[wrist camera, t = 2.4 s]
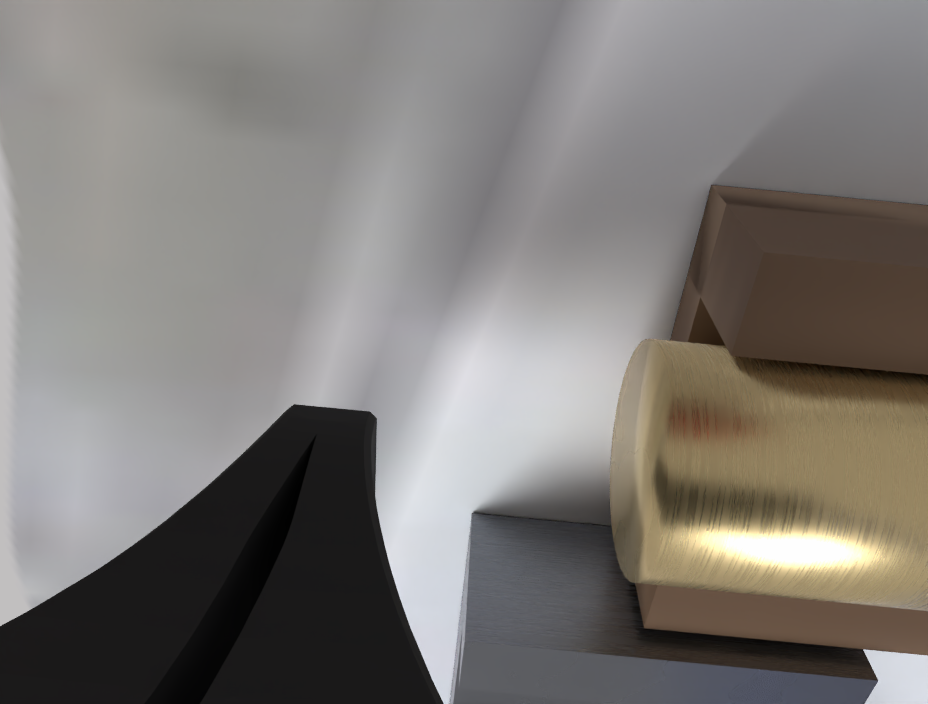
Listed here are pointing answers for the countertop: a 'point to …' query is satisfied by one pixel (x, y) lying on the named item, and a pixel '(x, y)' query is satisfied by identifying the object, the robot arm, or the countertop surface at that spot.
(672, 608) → the brown wooden cradle
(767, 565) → the brass axle
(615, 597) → the v block
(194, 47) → the countertop surface
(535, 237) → the countertop surface
